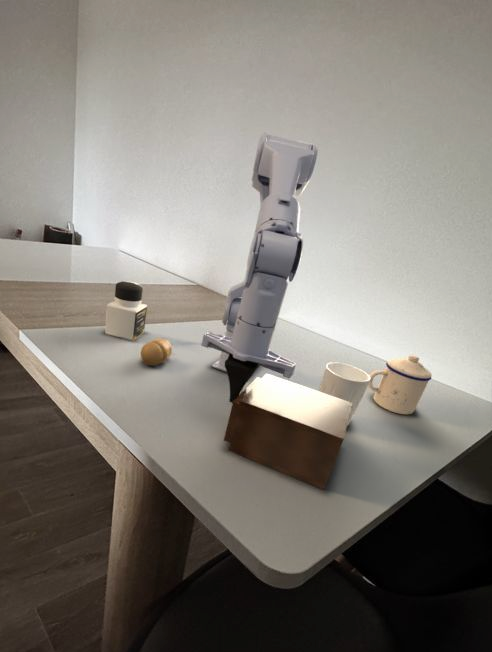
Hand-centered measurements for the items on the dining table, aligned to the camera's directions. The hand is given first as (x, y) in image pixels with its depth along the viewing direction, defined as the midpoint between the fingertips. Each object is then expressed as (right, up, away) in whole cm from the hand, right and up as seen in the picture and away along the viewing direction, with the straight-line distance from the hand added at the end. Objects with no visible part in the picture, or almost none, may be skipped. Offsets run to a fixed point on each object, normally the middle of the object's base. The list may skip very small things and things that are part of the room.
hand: (234, 401), depth 62 cm
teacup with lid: (+34, -2, +23) cm, 42 cm away
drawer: (+6, -6, 0) cm, 8 cm away
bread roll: (-16, +7, +20) cm, 26 cm away
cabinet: (+8, -8, -1) cm, 11 cm away
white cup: (+19, -4, +12) cm, 22 cm away
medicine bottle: (-25, +15, +31) cm, 43 cm away
